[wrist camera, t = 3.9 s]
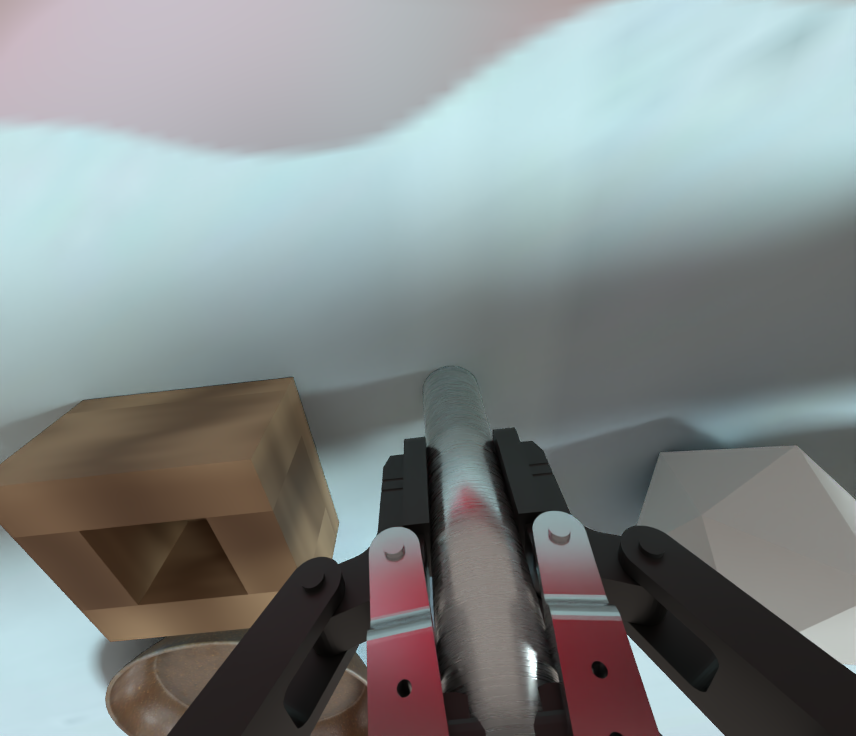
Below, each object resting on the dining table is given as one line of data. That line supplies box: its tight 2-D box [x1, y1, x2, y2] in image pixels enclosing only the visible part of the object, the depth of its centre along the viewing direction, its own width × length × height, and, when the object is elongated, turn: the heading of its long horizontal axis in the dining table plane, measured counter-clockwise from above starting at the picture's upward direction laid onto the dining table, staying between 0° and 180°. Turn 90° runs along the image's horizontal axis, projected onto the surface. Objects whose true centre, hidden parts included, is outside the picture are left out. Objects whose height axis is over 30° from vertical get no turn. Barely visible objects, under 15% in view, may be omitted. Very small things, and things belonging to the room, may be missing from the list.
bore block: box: [0, 377, 339, 642], centre depth 17 cm, size 9×9×5 cm
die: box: [636, 445, 856, 665], centre depth 17 cm, size 8×9×10 cm
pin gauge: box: [423, 366, 559, 736], centre depth 12 cm, size 2×2×12 cm
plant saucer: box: [105, 628, 368, 736], centre depth 27 cm, size 18×18×3 cm
